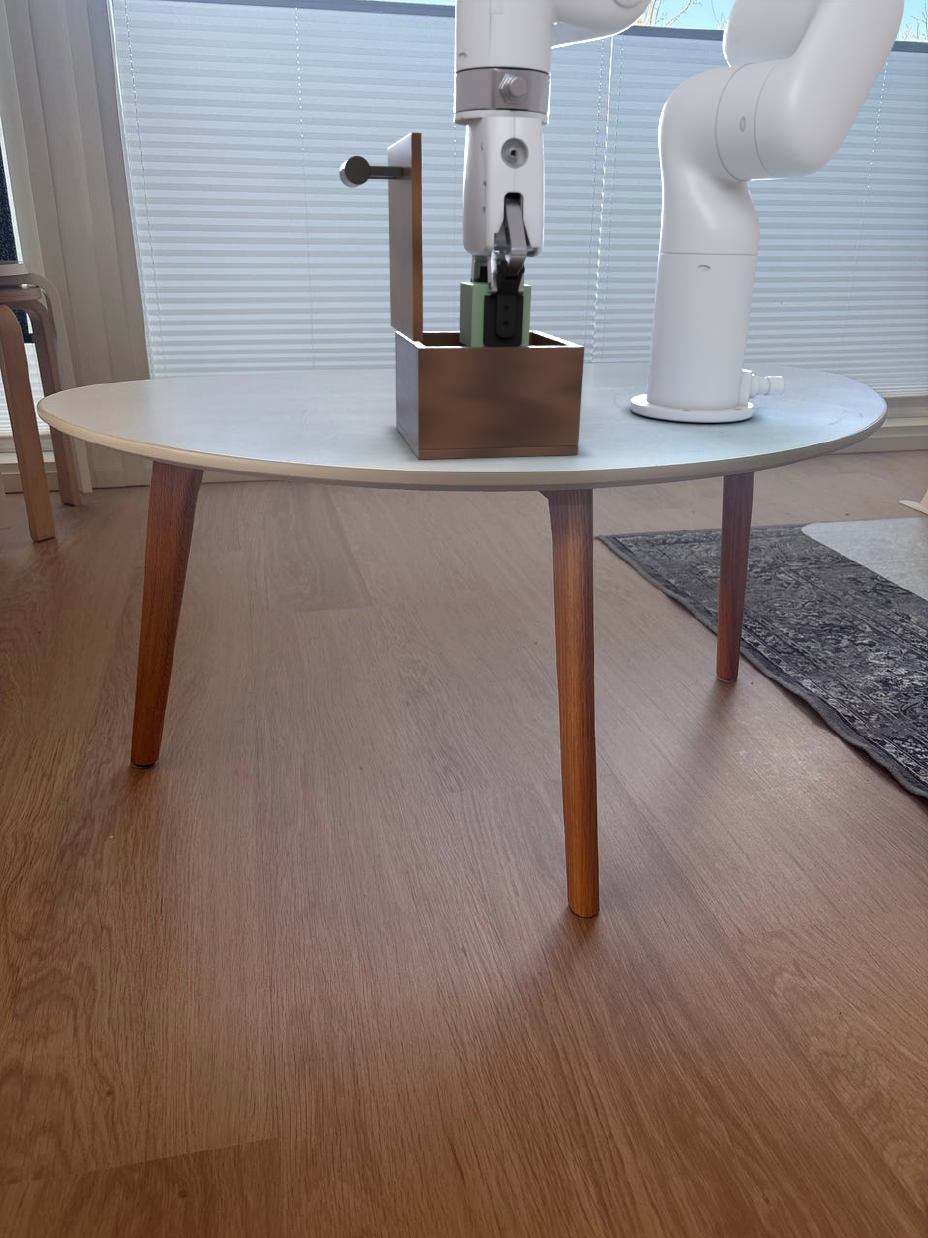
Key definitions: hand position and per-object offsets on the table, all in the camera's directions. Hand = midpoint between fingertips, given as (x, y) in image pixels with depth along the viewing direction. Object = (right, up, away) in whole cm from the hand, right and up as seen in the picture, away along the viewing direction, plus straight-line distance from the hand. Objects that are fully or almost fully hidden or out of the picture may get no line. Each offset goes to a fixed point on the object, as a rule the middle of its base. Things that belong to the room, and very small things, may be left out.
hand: (494, 340), depth 80 cm
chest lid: (-7, +7, -4) cm, 11 cm away
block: (0, 0, 0) cm, 0 cm away
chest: (-1, -8, +3) cm, 9 cm away
